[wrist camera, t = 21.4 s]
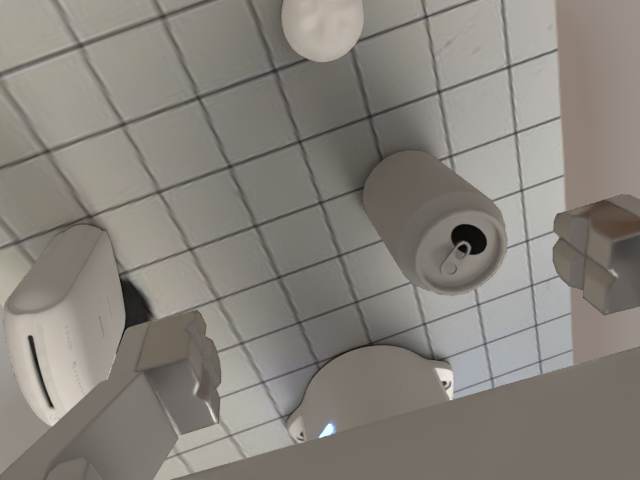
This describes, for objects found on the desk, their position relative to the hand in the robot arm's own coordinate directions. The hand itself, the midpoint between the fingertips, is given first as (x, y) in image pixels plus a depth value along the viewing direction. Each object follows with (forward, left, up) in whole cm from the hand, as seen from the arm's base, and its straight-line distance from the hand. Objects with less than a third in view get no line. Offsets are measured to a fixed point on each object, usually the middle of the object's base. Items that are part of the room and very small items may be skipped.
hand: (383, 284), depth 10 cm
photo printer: (-9, +20, -27) cm, 35 cm away
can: (-11, -7, -27) cm, 30 cm away
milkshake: (+5, -3, -27) cm, 28 cm away
